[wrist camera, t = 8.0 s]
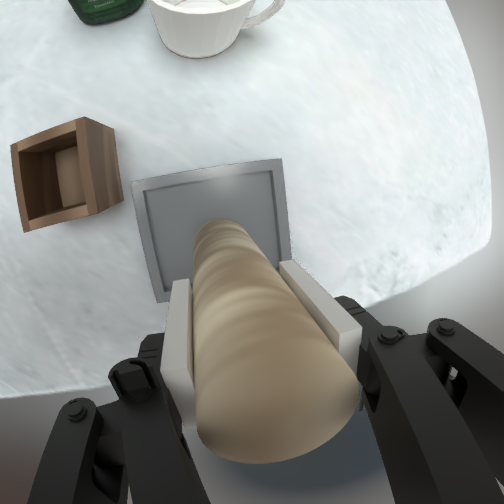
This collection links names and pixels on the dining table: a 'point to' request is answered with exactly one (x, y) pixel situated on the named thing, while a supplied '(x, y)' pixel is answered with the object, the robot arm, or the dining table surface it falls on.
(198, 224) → the tray
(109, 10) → the coffee jar
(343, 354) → the robot arm
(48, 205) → the pen cup
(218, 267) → the dowel
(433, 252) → the dining table surface
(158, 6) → the mug
